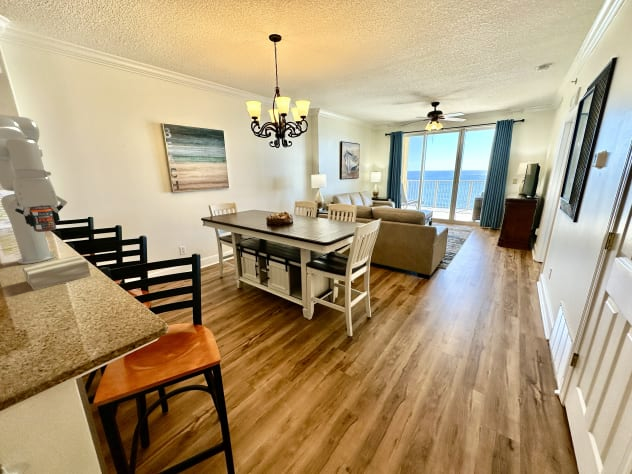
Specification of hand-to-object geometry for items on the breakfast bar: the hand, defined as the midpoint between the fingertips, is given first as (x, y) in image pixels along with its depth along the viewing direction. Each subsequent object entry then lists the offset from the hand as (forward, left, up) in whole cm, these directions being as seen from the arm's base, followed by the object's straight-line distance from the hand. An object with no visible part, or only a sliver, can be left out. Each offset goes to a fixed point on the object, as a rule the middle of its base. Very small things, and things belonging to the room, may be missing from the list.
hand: (44, 223), depth 97 cm
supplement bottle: (0, 0, -3) cm, 3 cm away
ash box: (0, 0, -22) cm, 22 cm away
